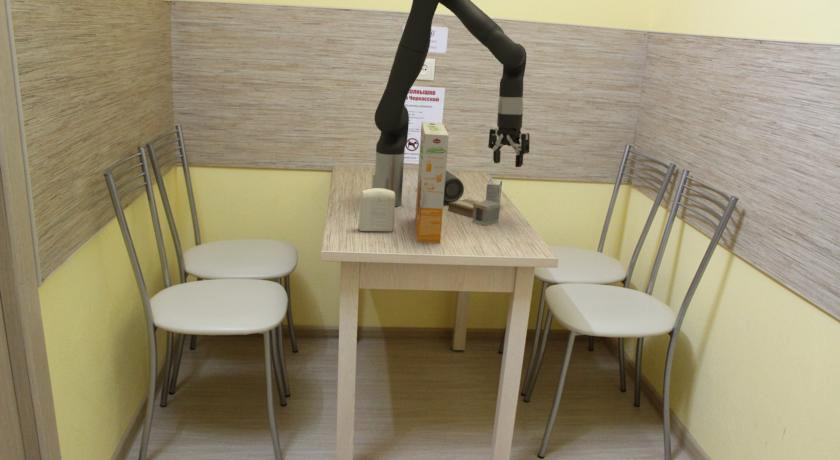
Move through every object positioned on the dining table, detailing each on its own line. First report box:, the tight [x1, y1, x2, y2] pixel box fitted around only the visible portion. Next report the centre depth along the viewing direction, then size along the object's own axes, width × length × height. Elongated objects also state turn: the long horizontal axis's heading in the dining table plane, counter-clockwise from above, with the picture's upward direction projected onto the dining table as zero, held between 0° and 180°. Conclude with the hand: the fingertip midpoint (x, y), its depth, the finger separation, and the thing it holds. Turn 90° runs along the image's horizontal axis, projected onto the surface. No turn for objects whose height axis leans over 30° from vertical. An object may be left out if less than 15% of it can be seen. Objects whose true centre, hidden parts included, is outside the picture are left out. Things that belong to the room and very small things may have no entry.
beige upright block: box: [358, 188, 396, 232], centre depth 193 cm, size 10×4×12 cm, turn 103°
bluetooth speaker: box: [443, 170, 465, 203], centre depth 236 cm, size 23×9×10 cm, turn 20°
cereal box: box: [414, 121, 450, 244], centre depth 193 cm, size 22×6×30 cm, turn 2°
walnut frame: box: [447, 197, 482, 218], centre depth 221 cm, size 11×11×3 cm
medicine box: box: [485, 178, 503, 204], centre depth 228 cm, size 8×4×9 cm, turn 168°
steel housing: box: [471, 199, 501, 227], centre depth 210 cm, size 7×5×6 cm
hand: (507, 164), depth 208 cm, fingers open, 8 cm apart
